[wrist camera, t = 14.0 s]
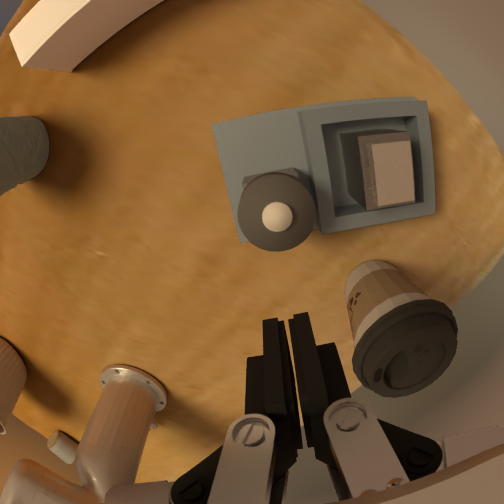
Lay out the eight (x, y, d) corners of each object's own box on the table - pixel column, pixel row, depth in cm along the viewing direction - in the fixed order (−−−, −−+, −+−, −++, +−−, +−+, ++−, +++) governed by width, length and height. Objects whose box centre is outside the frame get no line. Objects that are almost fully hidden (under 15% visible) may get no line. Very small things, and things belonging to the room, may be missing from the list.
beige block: (383, 128, 27) (415, 132, 21) (390, 187, 30) (421, 206, 23) (339, 133, 28) (362, 137, 21) (348, 194, 30) (371, 214, 24)
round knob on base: (309, 220, 31) (321, 246, 25) (249, 232, 32) (246, 260, 26) (299, 160, 29) (310, 171, 22) (235, 172, 29) (228, 187, 23)
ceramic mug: (60, 427, 57) (50, 448, 50) (84, 444, 60) (75, 465, 53) (48, 430, 60) (39, 449, 53) (70, 446, 63) (61, 465, 56)
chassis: (420, 205, 32) (443, 220, 27) (240, 237, 34) (237, 259, 29) (409, 97, 27) (434, 95, 22) (213, 124, 29) (204, 124, 24)
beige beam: (182, -46, 20) (161, -86, 12) (204, -20, 22) (186, -60, 13) (49, 51, 24) (1, 43, 16) (64, 79, 26) (14, 76, 18)
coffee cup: (326, 249, 35) (362, 331, 21) (412, 237, 34) (479, 303, 20) (328, 325, 39) (353, 414, 26) (404, 311, 38) (449, 388, 25)
